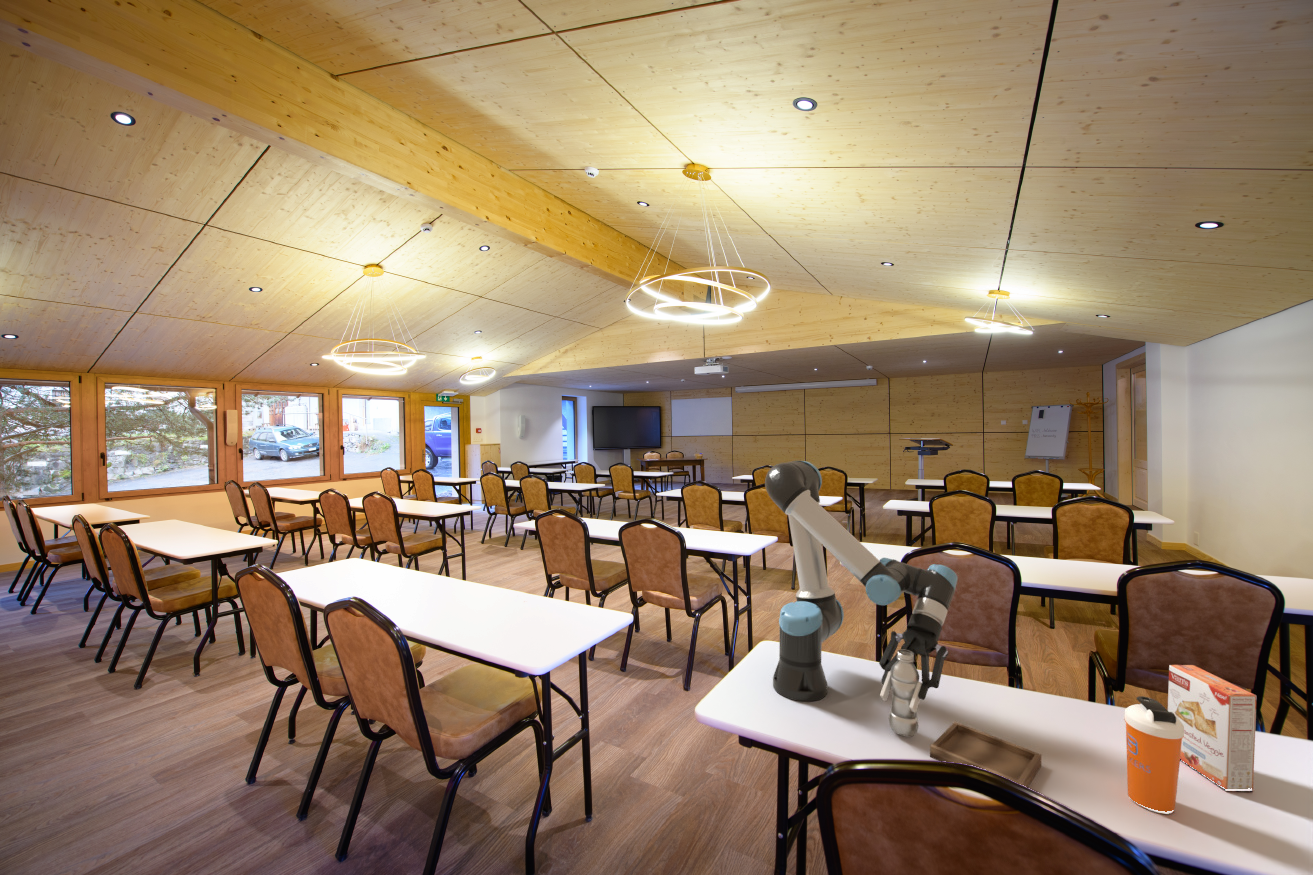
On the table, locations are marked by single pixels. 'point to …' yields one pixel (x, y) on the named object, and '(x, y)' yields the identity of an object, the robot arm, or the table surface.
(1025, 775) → the walnut tray
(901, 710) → the plastic bottle
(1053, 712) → the table surface
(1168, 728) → the shaker bottle
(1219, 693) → the cracker box
